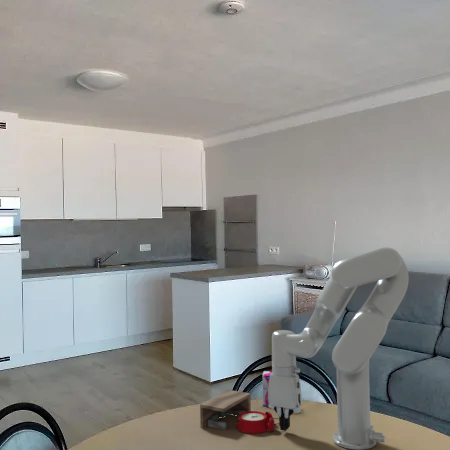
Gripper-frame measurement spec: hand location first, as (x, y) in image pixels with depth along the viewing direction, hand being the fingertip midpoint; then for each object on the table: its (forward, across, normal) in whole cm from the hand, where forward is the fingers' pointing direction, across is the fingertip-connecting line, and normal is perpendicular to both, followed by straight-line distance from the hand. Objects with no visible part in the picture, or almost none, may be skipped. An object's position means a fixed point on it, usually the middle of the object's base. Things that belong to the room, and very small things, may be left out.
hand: (284, 429), depth 152 cm
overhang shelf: (+2, +22, 0) cm, 22 cm away
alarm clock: (+2, +10, 0) cm, 10 cm away
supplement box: (+2, +16, -23) cm, 28 cm away
